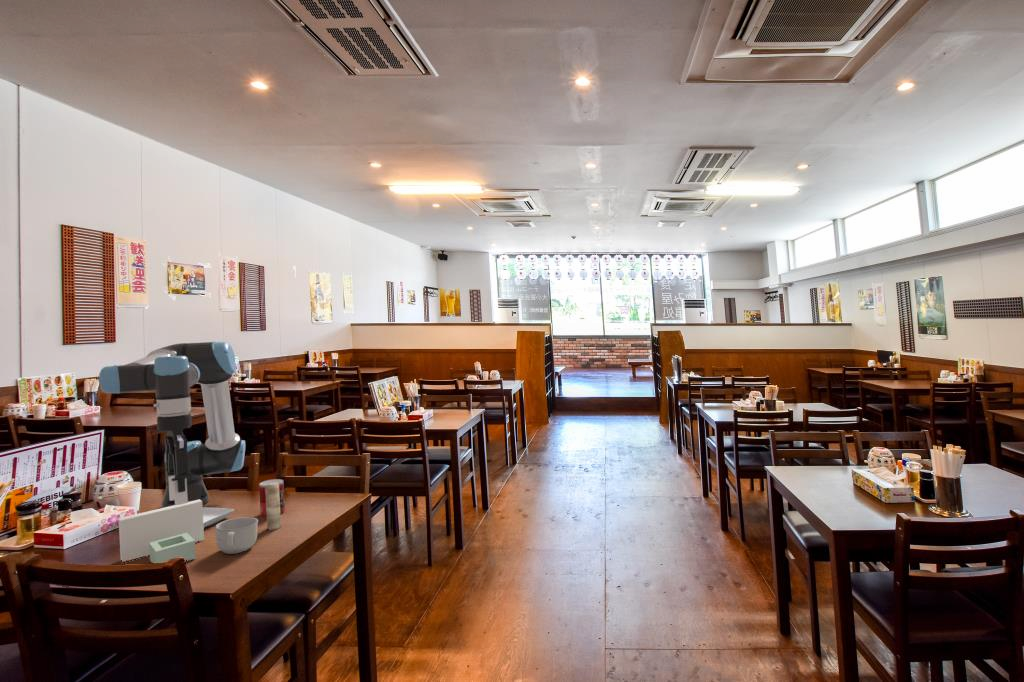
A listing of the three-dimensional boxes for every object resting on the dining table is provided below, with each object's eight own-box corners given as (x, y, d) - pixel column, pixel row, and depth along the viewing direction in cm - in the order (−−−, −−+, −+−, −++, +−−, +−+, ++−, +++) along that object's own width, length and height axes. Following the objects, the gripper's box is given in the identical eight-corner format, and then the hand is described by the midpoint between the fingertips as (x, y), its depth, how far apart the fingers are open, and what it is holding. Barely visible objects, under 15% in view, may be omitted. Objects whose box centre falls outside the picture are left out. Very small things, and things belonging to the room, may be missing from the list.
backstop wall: (120, 560, 140) (118, 518, 140) (201, 537, 154) (199, 499, 154) (122, 563, 138) (120, 520, 138) (204, 539, 152) (202, 501, 152)
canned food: (275, 517, 169) (274, 485, 169) (255, 516, 171) (253, 485, 171) (289, 509, 177) (288, 479, 177) (270, 509, 179) (268, 478, 178)
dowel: (265, 528, 160) (263, 485, 160) (278, 524, 163) (276, 482, 163) (270, 531, 157) (267, 487, 157) (282, 527, 160) (280, 484, 160)
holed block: (150, 560, 138) (149, 542, 138) (187, 549, 145) (186, 532, 145) (156, 570, 132) (155, 551, 132) (195, 558, 138) (194, 540, 138)
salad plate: (236, 517, 172) (236, 507, 172) (183, 542, 152) (183, 531, 152) (186, 515, 177) (186, 505, 177) (128, 539, 157) (128, 528, 156)
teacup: (228, 543, 149) (226, 516, 149) (265, 540, 150) (264, 514, 150) (203, 564, 135) (201, 535, 135) (244, 561, 136) (243, 532, 136)
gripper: (149, 413, 134) (154, 498, 135) (164, 419, 122) (169, 513, 122) (182, 409, 140) (186, 491, 140) (199, 415, 127) (204, 504, 127)
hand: (178, 501), depth 131 cm, fingers open, 5 cm apart
